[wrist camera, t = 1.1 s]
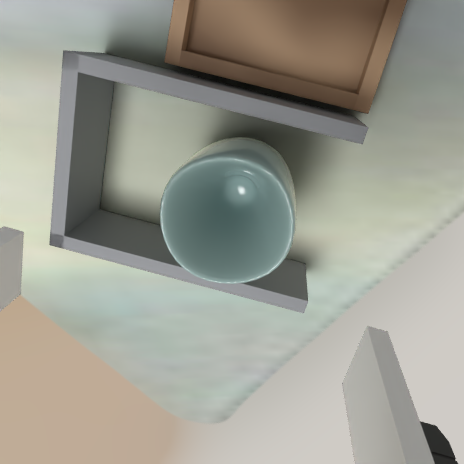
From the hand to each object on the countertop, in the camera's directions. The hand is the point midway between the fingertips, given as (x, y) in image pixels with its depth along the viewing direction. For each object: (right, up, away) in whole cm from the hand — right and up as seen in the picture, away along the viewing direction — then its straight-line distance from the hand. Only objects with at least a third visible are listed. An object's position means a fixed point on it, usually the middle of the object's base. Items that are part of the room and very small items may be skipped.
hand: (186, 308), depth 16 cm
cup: (+3, +7, +17) cm, 19 cm away
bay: (+1, +7, +17) cm, 19 cm away
